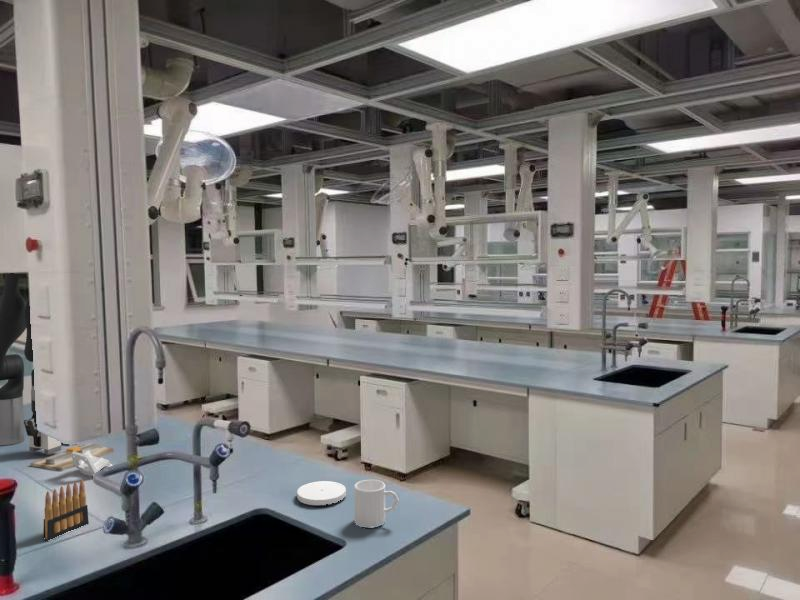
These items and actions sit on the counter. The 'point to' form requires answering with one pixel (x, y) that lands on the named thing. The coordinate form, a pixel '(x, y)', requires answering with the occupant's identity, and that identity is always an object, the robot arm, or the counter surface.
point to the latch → (73, 449)
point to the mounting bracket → (89, 463)
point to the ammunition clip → (65, 511)
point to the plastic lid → (321, 493)
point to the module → (45, 444)
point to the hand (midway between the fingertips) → (45, 444)
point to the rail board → (69, 462)
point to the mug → (371, 502)
